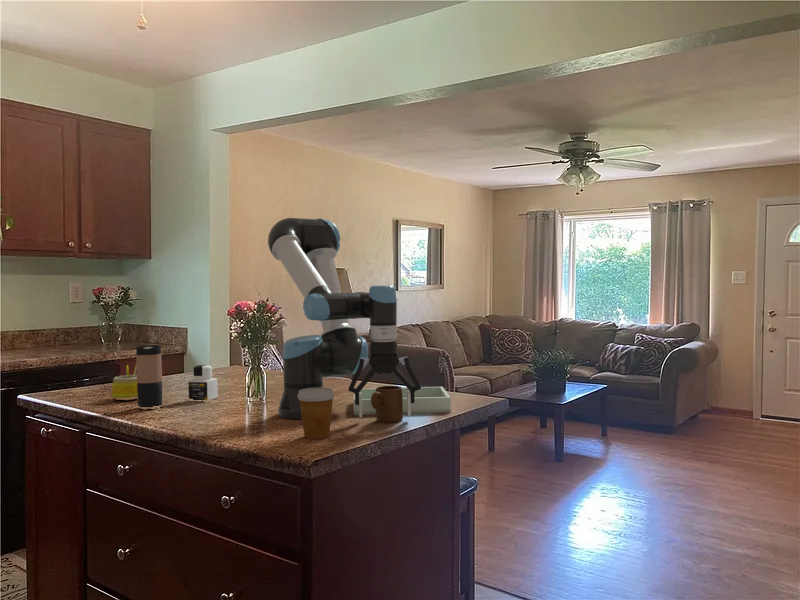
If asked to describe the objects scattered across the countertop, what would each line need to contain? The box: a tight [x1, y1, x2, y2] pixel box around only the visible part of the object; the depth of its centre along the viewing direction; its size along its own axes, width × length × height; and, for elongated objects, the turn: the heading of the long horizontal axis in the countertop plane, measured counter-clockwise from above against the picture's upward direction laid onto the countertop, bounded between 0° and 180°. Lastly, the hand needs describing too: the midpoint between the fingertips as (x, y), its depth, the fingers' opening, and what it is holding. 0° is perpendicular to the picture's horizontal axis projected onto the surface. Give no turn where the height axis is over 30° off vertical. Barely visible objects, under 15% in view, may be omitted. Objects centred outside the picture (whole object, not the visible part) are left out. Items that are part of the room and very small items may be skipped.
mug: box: [371, 385, 404, 424], centre depth 183 cm, size 12×8×9 cm, turn 147°
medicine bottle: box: [187, 364, 219, 400], centre depth 223 cm, size 7×7×12 cm
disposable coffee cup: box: [297, 387, 336, 440], centre depth 167 cm, size 10×10×12 cm
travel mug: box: [135, 344, 163, 407], centre depth 210 cm, size 8×8×20 cm
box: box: [353, 386, 452, 416], centre depth 204 cm, size 29×20×4 cm
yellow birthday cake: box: [111, 363, 138, 398], centre depth 228 cm, size 13×11×12 cm
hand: (385, 415), depth 183 cm, fingers open, 13 cm apart
